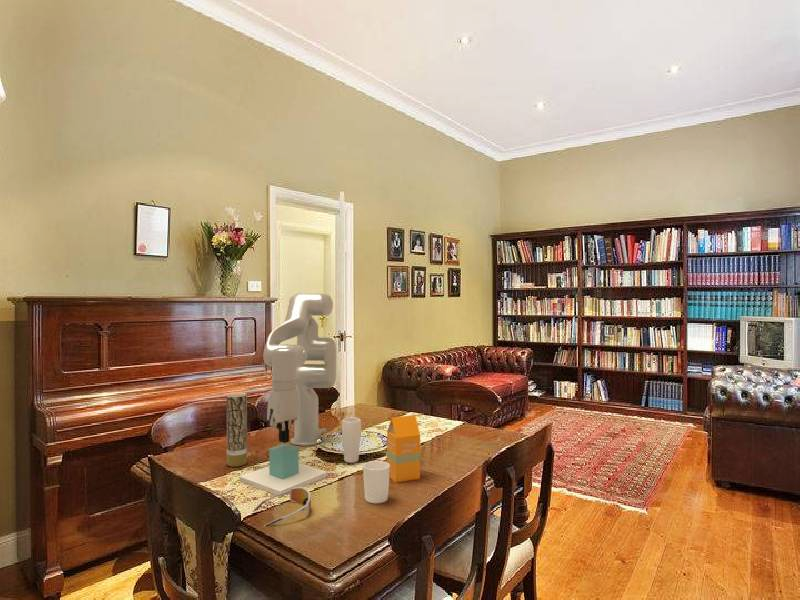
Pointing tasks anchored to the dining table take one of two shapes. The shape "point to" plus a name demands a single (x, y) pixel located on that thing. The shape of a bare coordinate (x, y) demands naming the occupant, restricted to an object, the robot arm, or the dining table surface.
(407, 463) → the orange juice
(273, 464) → the mint green cube
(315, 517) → the dining table surface
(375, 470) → the white cup
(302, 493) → the sunglasses
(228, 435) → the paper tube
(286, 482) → the post board
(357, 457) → the drinking glass
